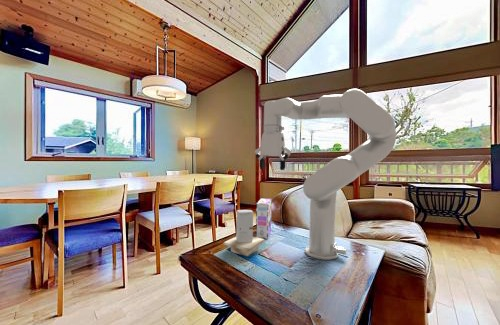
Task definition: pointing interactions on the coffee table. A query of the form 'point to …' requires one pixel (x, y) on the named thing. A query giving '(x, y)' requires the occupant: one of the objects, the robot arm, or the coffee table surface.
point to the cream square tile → (244, 245)
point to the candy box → (263, 218)
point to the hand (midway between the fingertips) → (272, 169)
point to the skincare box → (244, 226)
